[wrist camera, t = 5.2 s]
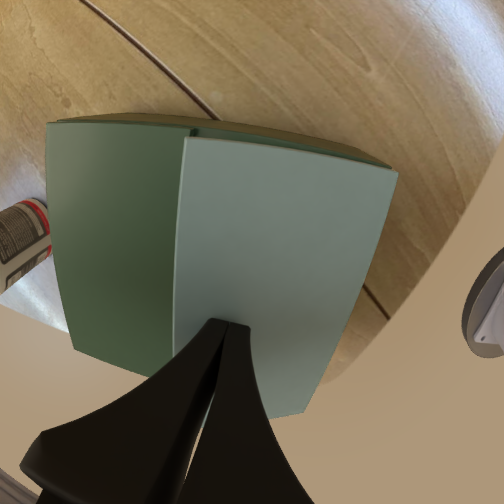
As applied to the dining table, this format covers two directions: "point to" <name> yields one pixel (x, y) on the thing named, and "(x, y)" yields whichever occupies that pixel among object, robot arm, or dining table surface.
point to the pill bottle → (22, 240)
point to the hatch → (275, 254)
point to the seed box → (131, 223)
